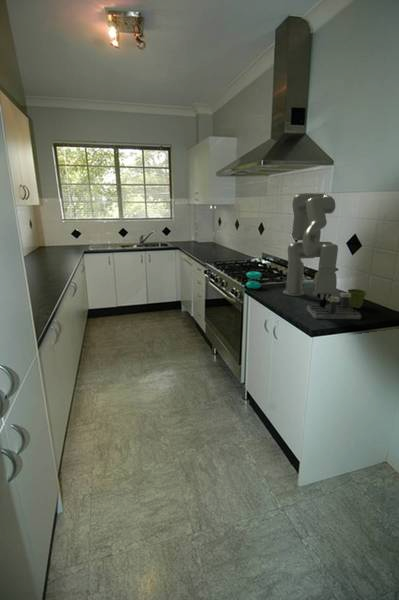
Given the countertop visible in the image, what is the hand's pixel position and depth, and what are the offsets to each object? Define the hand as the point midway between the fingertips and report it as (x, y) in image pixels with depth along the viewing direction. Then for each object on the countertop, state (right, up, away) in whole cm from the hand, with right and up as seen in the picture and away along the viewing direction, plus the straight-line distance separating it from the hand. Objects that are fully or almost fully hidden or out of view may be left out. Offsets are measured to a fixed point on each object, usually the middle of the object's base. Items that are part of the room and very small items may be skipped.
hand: (322, 306), depth 155 cm
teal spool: (-24, +12, +57) cm, 63 cm away
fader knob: (+5, -3, +1) cm, 6 cm away
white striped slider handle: (+14, -1, +8) cm, 16 cm away
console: (+7, -4, +5) cm, 10 cm away
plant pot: (+25, 0, +17) cm, 30 cm away
